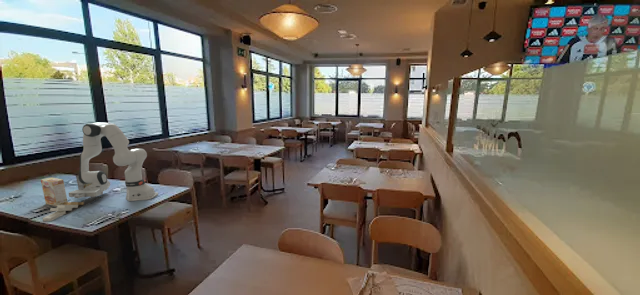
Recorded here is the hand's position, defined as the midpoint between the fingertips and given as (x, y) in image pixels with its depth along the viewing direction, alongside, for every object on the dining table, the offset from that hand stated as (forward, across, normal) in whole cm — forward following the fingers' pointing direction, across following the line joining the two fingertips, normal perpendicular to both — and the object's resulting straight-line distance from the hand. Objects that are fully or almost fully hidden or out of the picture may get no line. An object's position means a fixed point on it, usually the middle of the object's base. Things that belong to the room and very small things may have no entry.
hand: (76, 197), depth 196 cm
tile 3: (+8, 0, +6) cm, 10 cm away
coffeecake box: (-6, -21, +8) cm, 23 cm away
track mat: (-1, 0, +8) cm, 8 cm away
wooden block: (-2, 0, +6) cm, 6 cm away
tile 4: (+13, 0, +6) cm, 14 cm away
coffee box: (-32, -19, +8) cm, 38 cm away
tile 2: (+3, 0, +6) cm, 7 cm away
